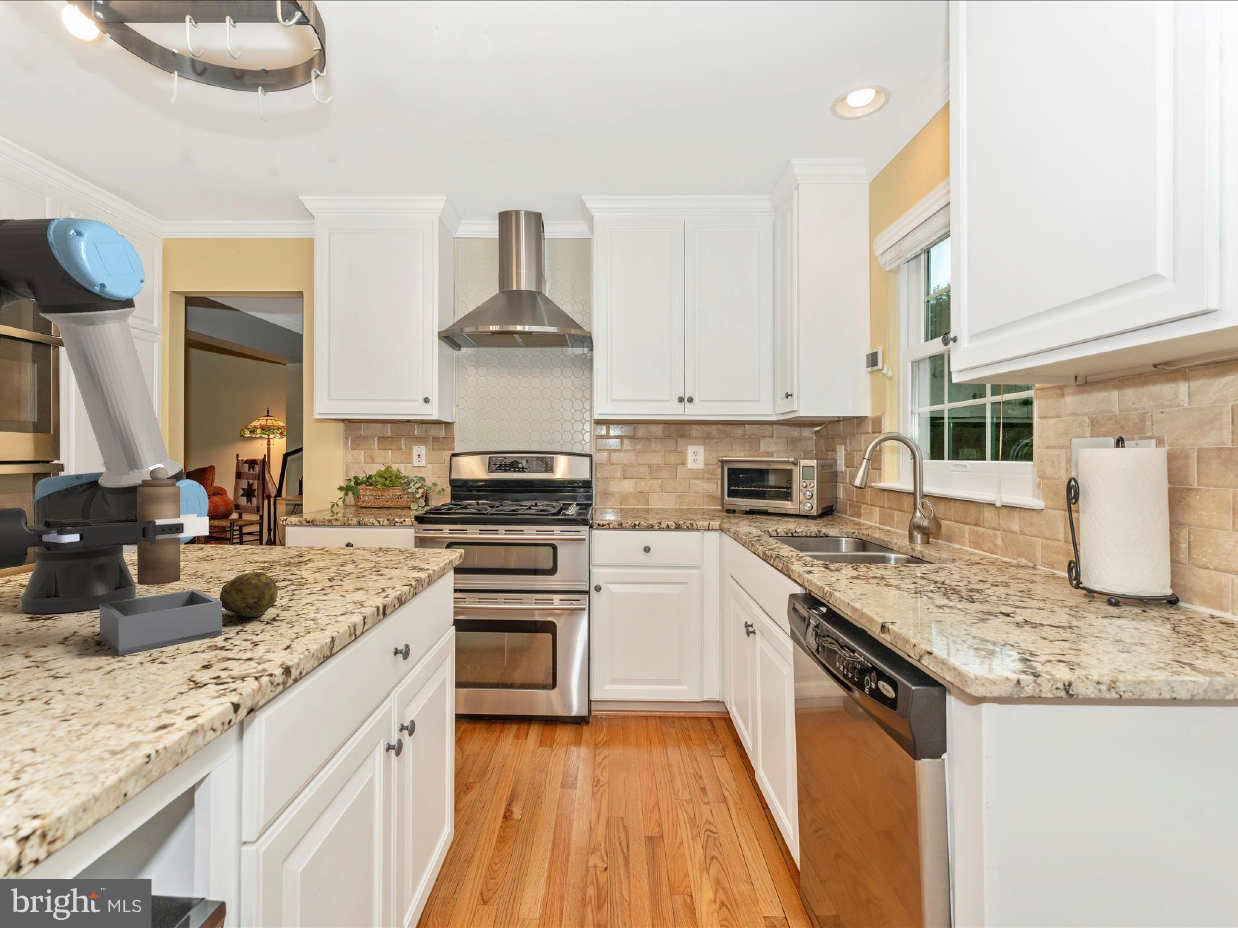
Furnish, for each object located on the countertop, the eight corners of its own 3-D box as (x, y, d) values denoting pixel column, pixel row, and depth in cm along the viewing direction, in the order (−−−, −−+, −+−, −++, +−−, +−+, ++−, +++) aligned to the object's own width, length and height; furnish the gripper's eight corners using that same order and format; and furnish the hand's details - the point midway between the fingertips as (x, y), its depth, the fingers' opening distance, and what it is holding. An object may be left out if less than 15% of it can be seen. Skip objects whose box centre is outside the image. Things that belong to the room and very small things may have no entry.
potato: (276, 606, 106) (276, 561, 105) (278, 624, 95) (278, 574, 94) (220, 612, 101) (219, 565, 101) (215, 632, 90) (215, 579, 90)
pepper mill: (133, 581, 87) (133, 466, 87) (174, 576, 91) (174, 466, 91) (142, 586, 84) (142, 467, 84) (184, 581, 88) (184, 466, 88)
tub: (99, 637, 87) (99, 603, 87) (196, 620, 97) (196, 589, 96) (118, 655, 80) (118, 618, 80) (222, 634, 89) (221, 601, 89)
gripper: (-25, 561, 80) (184, 542, 97) (-13, 579, 68) (221, 554, 86) (-26, 505, 79) (184, 497, 97) (-13, 514, 68) (221, 503, 86)
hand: (201, 524), depth 92 cm, fingers closed on pepper mill, 5 cm apart
